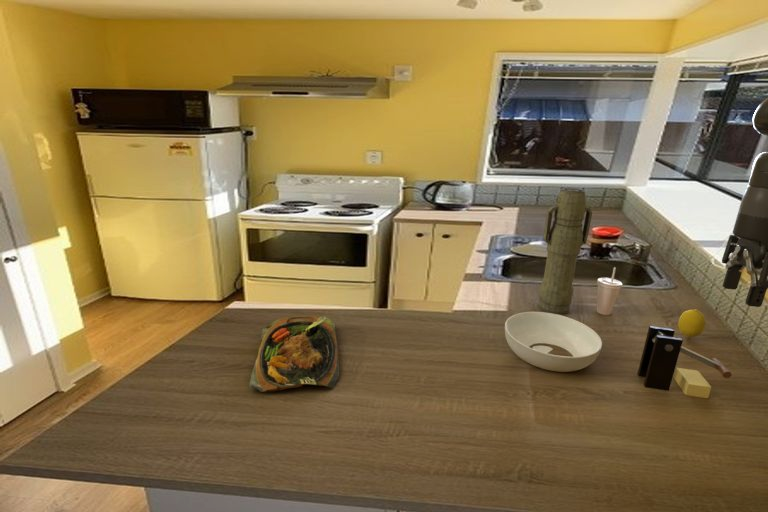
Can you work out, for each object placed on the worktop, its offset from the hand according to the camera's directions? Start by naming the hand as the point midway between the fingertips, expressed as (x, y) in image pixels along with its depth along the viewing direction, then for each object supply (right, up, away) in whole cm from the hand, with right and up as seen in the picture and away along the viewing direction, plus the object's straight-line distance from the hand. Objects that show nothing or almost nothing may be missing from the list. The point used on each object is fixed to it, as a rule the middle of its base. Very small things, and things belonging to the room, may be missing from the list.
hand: (740, 296), depth 80 cm
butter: (-5, -21, +7) cm, 22 cm away
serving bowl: (-29, -16, +19) cm, 38 cm away
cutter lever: (-6, -13, +5) cm, 15 cm away
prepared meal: (-87, -15, +17) cm, 90 cm away
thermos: (-17, -8, +45) cm, 49 cm away
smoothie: (-4, -9, +43) cm, 44 cm away
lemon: (+12, -14, +30) cm, 35 cm away
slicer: (-11, -20, +9) cm, 25 cm away
